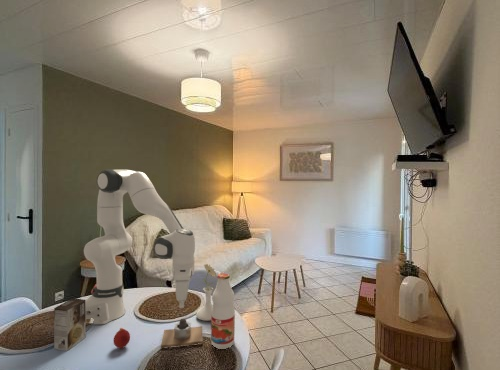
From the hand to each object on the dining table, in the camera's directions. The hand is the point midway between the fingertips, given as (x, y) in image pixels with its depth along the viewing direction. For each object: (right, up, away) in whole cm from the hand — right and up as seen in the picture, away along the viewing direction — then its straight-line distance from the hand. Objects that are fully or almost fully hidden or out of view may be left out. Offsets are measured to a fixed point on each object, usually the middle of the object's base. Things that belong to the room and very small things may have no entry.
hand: (182, 301), depth 110 cm
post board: (0, -15, 0) cm, 15 cm away
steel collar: (0, -14, 0) cm, 14 cm away
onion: (-22, -15, -6) cm, 28 cm away
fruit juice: (+17, -16, -3) cm, 23 cm away
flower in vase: (+8, -16, +19) cm, 26 cm away
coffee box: (-44, -15, -4) cm, 47 cm away
